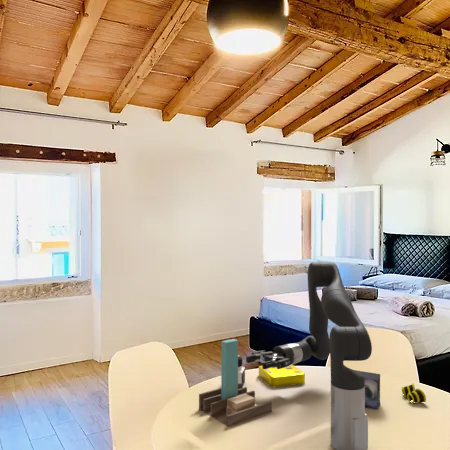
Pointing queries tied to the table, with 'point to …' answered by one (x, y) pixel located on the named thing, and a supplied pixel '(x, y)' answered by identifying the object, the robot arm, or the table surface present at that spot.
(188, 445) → the table surface
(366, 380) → the small box
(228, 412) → the lower oak offcut
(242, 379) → the medicine bottle
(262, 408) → the wooden rack
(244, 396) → the upper oak offcut
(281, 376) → the element tile
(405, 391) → the opera glasses
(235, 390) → the teal board
